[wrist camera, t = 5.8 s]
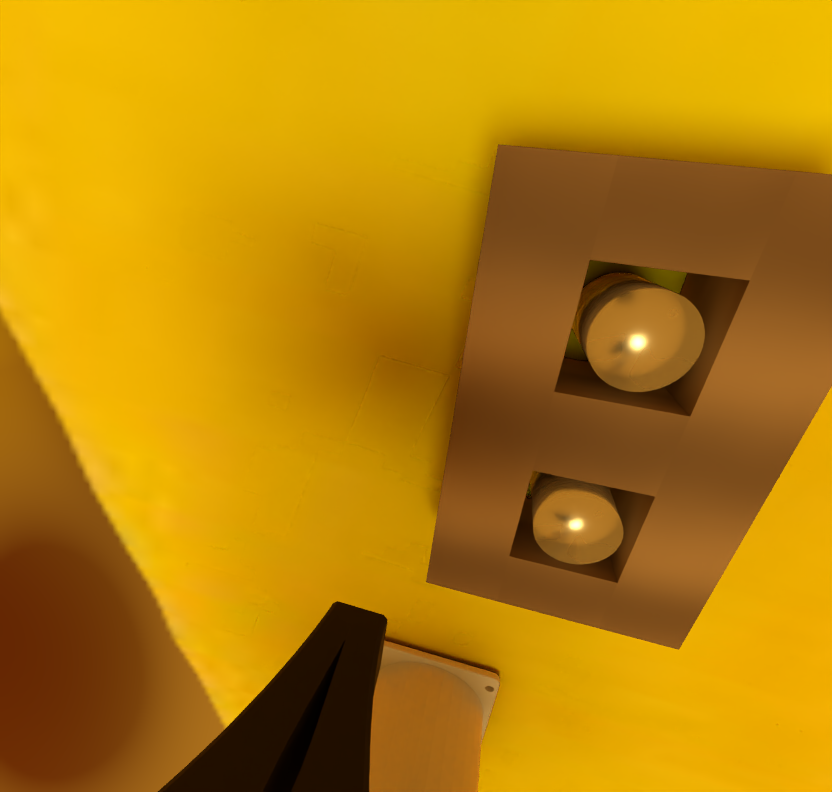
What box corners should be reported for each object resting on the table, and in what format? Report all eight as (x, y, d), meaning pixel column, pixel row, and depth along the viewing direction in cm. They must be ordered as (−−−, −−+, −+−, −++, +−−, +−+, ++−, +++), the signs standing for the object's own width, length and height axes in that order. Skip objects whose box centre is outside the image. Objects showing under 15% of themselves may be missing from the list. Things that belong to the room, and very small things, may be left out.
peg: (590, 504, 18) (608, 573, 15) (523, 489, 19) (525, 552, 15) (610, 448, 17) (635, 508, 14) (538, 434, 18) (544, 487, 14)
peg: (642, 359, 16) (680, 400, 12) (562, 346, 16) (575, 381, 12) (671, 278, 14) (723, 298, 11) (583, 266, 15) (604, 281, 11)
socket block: (648, 570, 19) (678, 649, 16) (441, 520, 21) (426, 582, 17) (825, 195, 13) (948, 184, 9) (502, 163, 14) (498, 144, 11)
